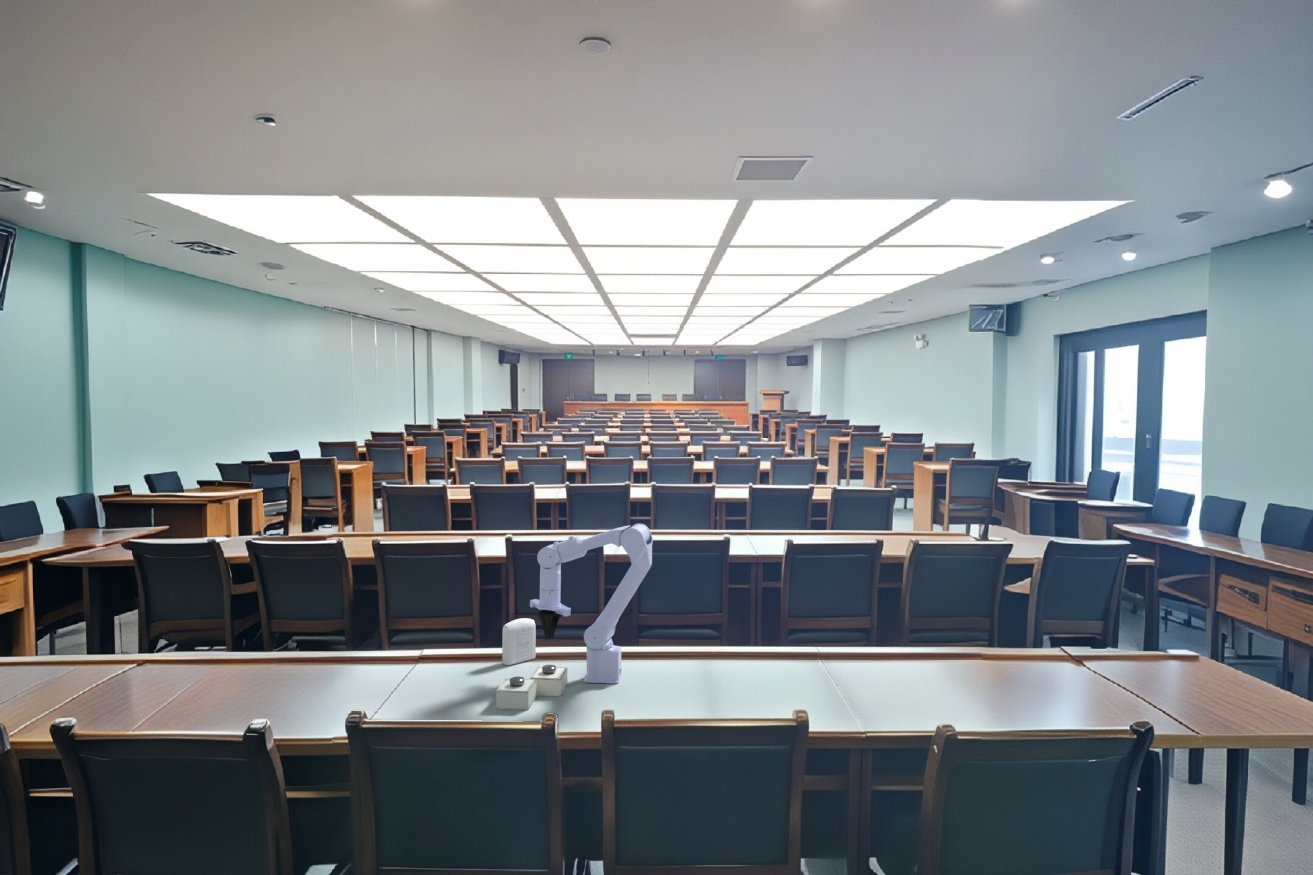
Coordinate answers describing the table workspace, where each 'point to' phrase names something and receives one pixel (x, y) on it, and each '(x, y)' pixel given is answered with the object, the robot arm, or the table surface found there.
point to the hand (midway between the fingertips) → (549, 636)
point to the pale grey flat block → (516, 695)
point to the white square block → (550, 681)
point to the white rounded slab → (518, 641)
